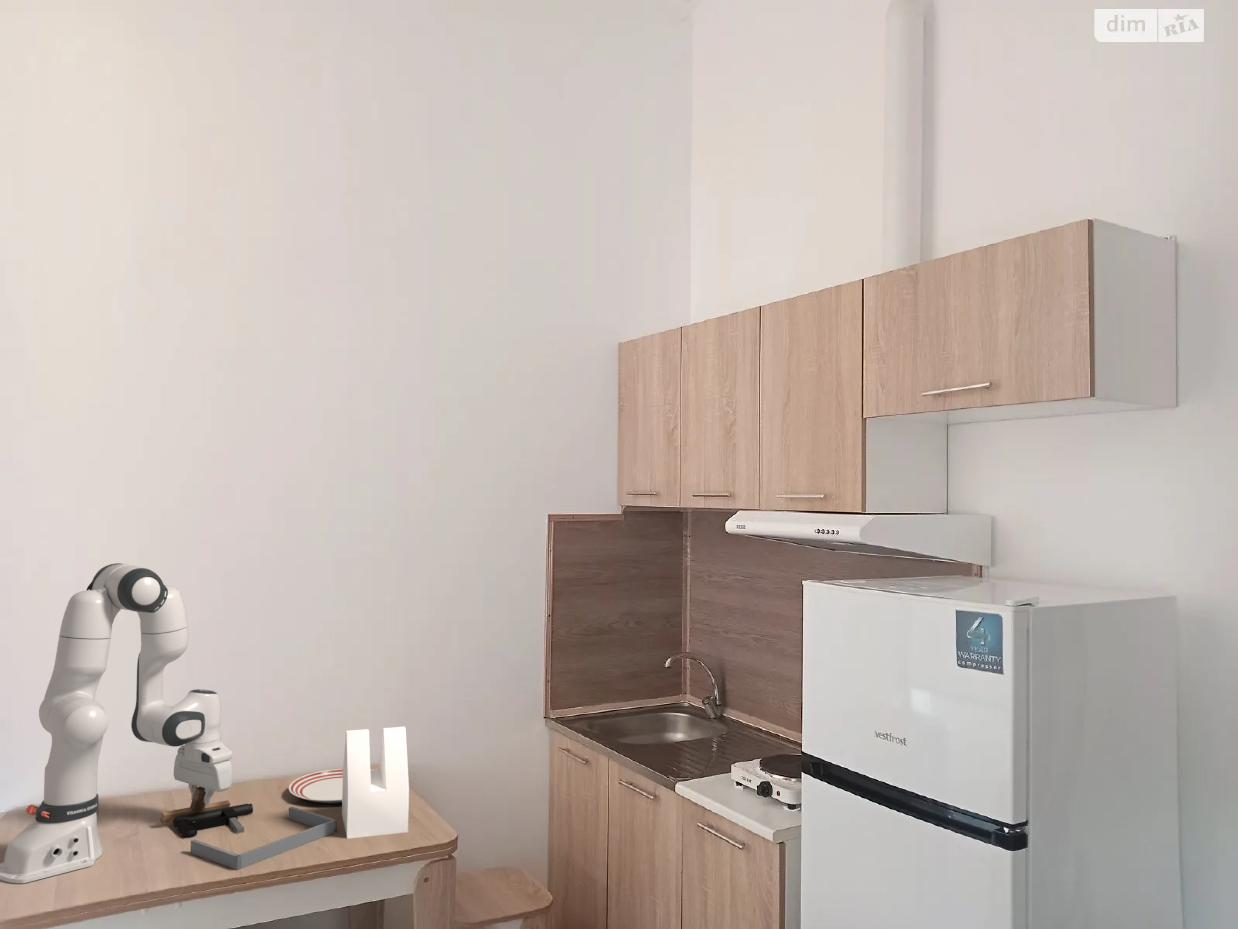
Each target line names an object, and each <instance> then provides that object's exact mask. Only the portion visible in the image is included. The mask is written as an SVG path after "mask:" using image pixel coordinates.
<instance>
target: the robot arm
mask: <svg viewBox="0 0 1238 929" xmlns="http://www.w3.org/2000/svg"><path fill="white" fill-rule="evenodd" d="M121 610H124V611H125V610H126V611H131V612H136V613H137V615H138V618H139V622H140V623H139V625H140V626H139V627H140V629H139V630H140V645H141V646H140V652H139V653H138V657H137V665H136V693H135V695H136V696H135V697H136V700H135V707H134V711H133V714H132V717H131V722H130V723H131V731H132V733H133V735H134V737H135V738H136V739H137V740H139V741H141V742H145V743H155V744H159V745H163V746H166V747H167V746H168V747H175V748H176V747H178V749H177V754H176V755H175V759H174V765H173V778H174V780H176V781H178V782H182V783H185V784H188V790H189V792H190V794H191V795H190V796H191V801H192V799H193V796H194V793H195V789H196V787H203V788H205V792H206V794H205V797H202V803H203V804H211V803H212V798H213V795H214V793H215V792H217V793H220V792H224V791H227V790H229V789H230V788H231V786H232V781H233V780H232V779H233V766H232V762H231V761H230V760H231V759H233V757H234V756H233V755H234V754H233V751H232V750H231V748H228V746H226V745H225V744H224V743H223V742H222V741H221V732H220V727H221V726H220V725H221V722H222V706H221V705H222V703H221V698H220V695H219V693H217V691H214V690H209V689H202V688H201V689H200V688H199V689H197V688H196V689H192V690H189V692H188V694H187V695H185V697H184V698H183V699H181V701H179V702H178V703H176V704H174V705H172V706H171V705H167V703H165V701H164V699H163V687H164V686H163V684H164V683H163V682H164V681H163V679H164V670H165V668H166V666H167V665H169V664H170V663H172V662H175V661H176V660H177V659H179V658H180V657H182V655H184V653H186V650H187V648H188V645H189V639H190V638H189V625H188V615H187V611H186V606H185V602H184V599H183V596H182V593H181V591H180V590H179V589H178V588H176V587H174V586H172V585H170V586H169V585H165V584H164V582H163V580H162V578H161V577H160V576H159V575H158V574H157V573H156V572H155V571H153V570H151V569H149V568H145V567H140V566H139V565H135V564H129V563H120V562H119V563H111V564H107V565H105V566H103V567H102V568H100V569H99V570H98V571H97V572H96V574H95V575H94V576H93V578H92V580H91V582H90V583H89V585H88V586H87V588H86V590H81V591H78V592H76V593H75V594H73V595H72V596H71V597H70V599H69V600H68V603H67V606H66V607H65V610H64V613H63V618H62V621H61V625H60V631H59V635H58V641H57V647H56V654H55V660H54V665H53V670H52V673H51V677H50V680H49V682H48V685H47V688H46V691H45V694H44V697H43V700H42V701H41V703H40V705H39V708H38V718H39V721H40V724H41V726H42V728H43V729H44V730H45V731H46V732H48V733H49V734H50V736H51V747H50V751H49V755H48V756H49V757H48V760H47V763H46V764H45V767H44V782H43V800H42V801H41V803H40V805H39V806H37V805H35V804H29V805H27V807H26V809H25V813H27V814H29V815H31V816H34V815H35V817H34V818H35V819H33V821H31V823H30V824H28V825H27V826H26V827H24V829H23V830H22V831H21V832H20V833H18V834H17V835H16V836H15V837H14V838H13V839H12V840H10V841H9V843H8V844H7V846H6V848H5V853H4V858H3V862H0V881H3V882H7V883H11V884H27V883H31V882H33V881H38V880H42V879H46V878H49V877H50V878H51V877H55V876H58V875H61V874H62V875H63V874H65V873H69V872H73V871H76V870H81V869H84V868H88V867H92V866H93V865H94V864H95V862H96V860H97V859H99V858H100V857H101V856H102V855H103V853H104V851H103V848H102V844H101V840H100V836H99V829H98V827H99V826H98V814H99V794H98V792H97V790H98V768H99V767H98V766H99V765H98V764H99V758H100V753H101V750H102V749H101V748H102V745H103V741H104V735H105V734H106V732H107V730H108V727H109V718H108V715H107V713H106V710H105V708H104V707H103V705H102V704H101V703H99V702H98V701H97V700H95V697H96V691H97V690H98V686H99V683H100V681H101V678H102V676H103V675H104V674H105V672H106V670H107V666H108V665H107V664H108V659H109V658H108V657H109V652H110V645H111V640H112V639H111V638H112V630H113V624H114V621H115V618H116V617H117V616H118V613H119V612H121Z"/></svg>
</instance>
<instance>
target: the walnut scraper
mask: <svg viewBox="0 0 1238 929" xmlns="http://www.w3.org/2000/svg"><path fill="white" fill-rule="evenodd" d="M205 794H206V792H205V788H203V787H199V786H197V787H196V789H195V793H194V796H193V799H192V800H191V802H190V806H188V807H185V808H180V809H173V810H168V811H163V812H162V813H161V816H160V819H159V821H160V823H161V824H162V825H164V824H169V823H173V821H174V819H175V818H176V817H178V816H183V815H188V814H194V813H199V812H204V811H210V810H215V809H220V808H226V807H231V802H230V801H229V800H228V799H227V800H223V801H218V802H217V801H216V802H211V803H210V804H203V803H202V797H205Z"/></svg>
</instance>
